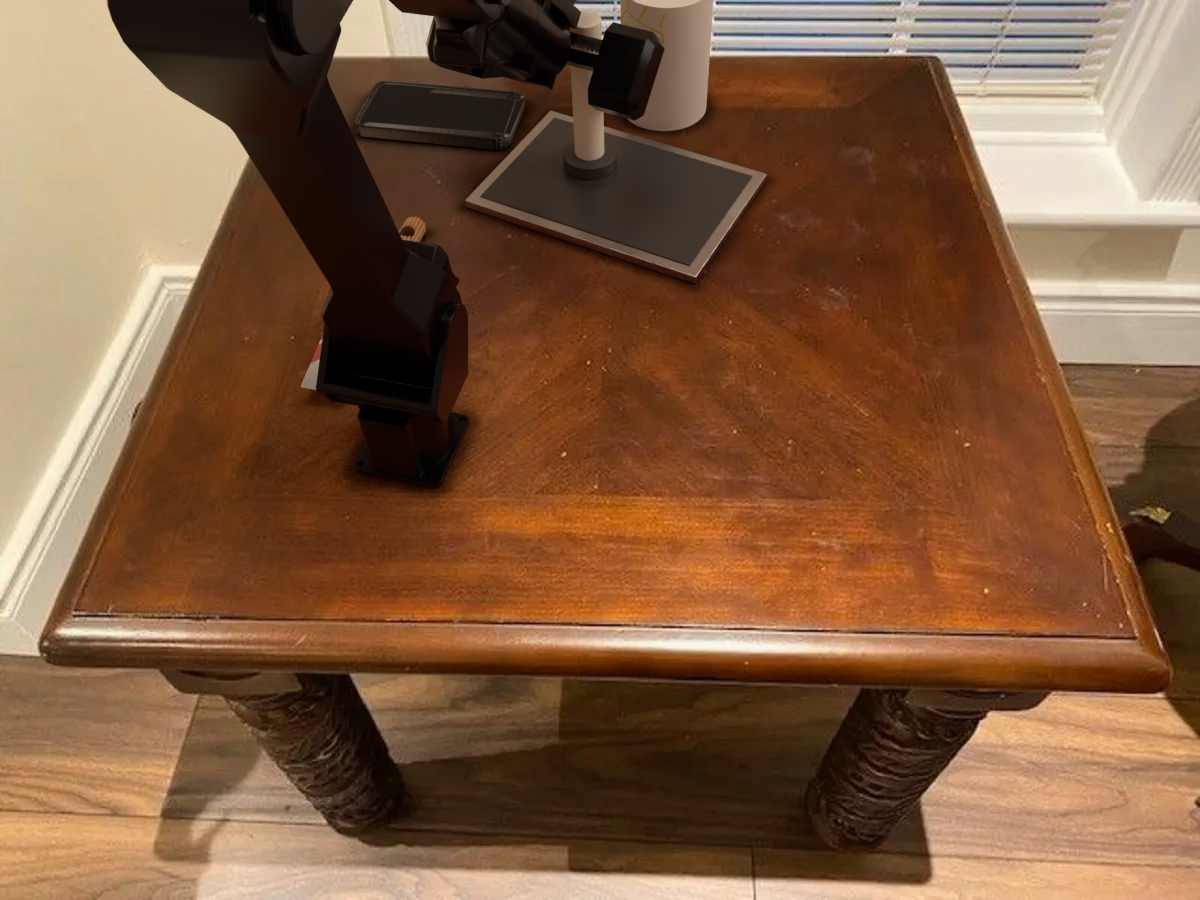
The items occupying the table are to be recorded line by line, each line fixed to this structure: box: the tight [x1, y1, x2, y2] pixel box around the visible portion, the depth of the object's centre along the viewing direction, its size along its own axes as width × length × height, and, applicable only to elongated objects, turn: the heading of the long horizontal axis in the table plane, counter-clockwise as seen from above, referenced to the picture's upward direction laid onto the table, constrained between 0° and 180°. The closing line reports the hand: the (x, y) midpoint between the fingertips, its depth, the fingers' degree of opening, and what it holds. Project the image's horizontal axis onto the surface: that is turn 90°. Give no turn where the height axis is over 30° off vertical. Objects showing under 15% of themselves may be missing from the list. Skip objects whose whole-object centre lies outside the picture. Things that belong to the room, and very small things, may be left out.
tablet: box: [464, 110, 768, 285], centre depth 90 cm, size 22×15×1 cm
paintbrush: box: [300, 216, 427, 391], centre depth 81 cm, size 4×3×20 cm
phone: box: [354, 79, 526, 151], centre depth 98 cm, size 8×1×15 cm
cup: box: [619, 0, 714, 132], centre depth 94 cm, size 8×8×12 cm
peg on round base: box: [563, 10, 617, 180], centre depth 87 cm, size 5×5×14 cm
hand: (579, 80), depth 88 cm, fingers open, 9 cm apart
